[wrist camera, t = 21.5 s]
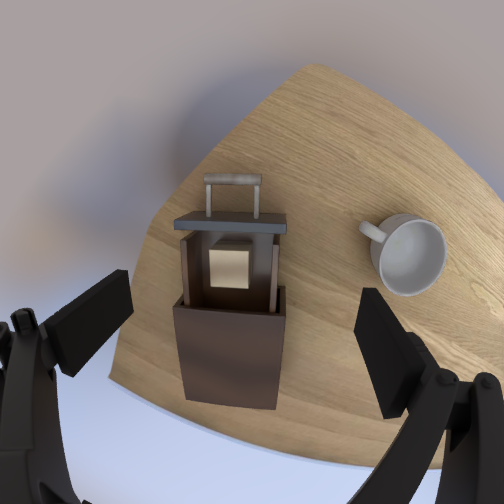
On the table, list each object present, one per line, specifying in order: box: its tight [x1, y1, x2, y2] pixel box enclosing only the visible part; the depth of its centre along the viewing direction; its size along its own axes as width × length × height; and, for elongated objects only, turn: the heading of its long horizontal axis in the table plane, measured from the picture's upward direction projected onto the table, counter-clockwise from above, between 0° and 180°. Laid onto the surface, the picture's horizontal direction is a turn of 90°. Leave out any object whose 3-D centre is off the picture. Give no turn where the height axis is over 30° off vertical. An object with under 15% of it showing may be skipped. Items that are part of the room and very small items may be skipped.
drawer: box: [174, 174, 287, 313], centre depth 37 cm, size 22×13×8 cm, turn 179°
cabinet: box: [173, 286, 286, 410], centre depth 41 cm, size 18×15×10 cm
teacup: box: [359, 213, 447, 296], centre depth 35 cm, size 14×11×8 cm
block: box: [209, 241, 253, 289], centre depth 38 cm, size 5×5×5 cm
